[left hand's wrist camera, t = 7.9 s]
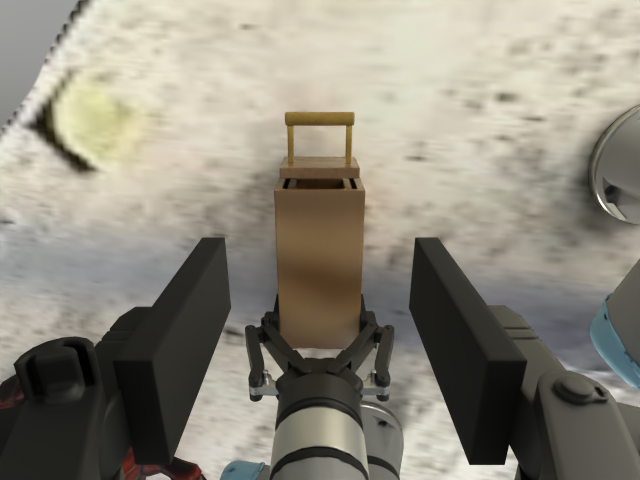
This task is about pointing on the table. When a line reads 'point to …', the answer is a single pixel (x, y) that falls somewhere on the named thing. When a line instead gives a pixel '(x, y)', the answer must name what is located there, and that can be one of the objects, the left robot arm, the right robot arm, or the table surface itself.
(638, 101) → the table surface
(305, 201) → the cabinet
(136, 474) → the sculpture
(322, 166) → the drawer
